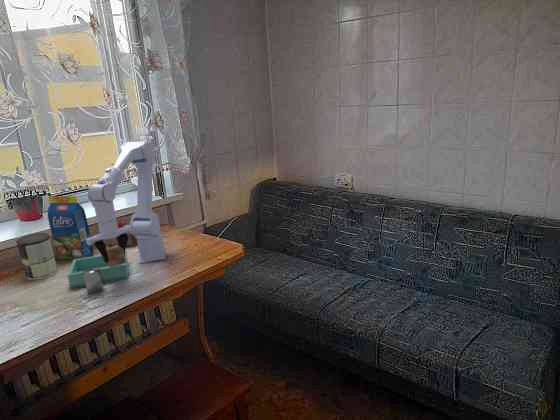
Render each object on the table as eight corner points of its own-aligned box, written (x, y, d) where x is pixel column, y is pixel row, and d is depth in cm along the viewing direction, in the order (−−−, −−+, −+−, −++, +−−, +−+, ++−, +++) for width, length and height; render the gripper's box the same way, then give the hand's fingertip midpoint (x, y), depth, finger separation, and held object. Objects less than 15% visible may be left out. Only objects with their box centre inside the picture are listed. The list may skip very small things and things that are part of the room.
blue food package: (68, 253, 170) (54, 194, 163) (94, 254, 168) (81, 193, 161) (57, 259, 164) (42, 198, 157) (84, 260, 162) (70, 198, 155)
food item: (104, 247, 175) (99, 225, 172) (115, 240, 182) (111, 218, 179) (133, 248, 171) (129, 225, 168) (143, 241, 179) (139, 219, 176)
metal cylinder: (104, 285, 139) (100, 266, 137) (103, 292, 135) (99, 272, 133) (88, 288, 138) (83, 269, 136) (86, 295, 133) (81, 275, 131)
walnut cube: (120, 258, 143) (117, 244, 141) (125, 262, 139) (123, 248, 138) (105, 263, 139) (102, 249, 138) (111, 267, 136) (108, 253, 134)
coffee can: (19, 280, 148) (9, 243, 144) (36, 268, 157) (27, 233, 153) (47, 279, 147) (38, 242, 143) (63, 267, 157) (54, 231, 153)
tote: (128, 263, 156) (126, 250, 155) (127, 278, 144) (125, 264, 142) (76, 272, 151) (73, 259, 150) (70, 289, 138) (67, 275, 137)
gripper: (88, 228, 127) (96, 269, 131) (133, 216, 137) (140, 254, 141) (80, 224, 133) (89, 263, 136) (124, 212, 142) (131, 249, 146)
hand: (114, 258), depth 139 cm, fingers closed on walnut cube, 5 cm apart
